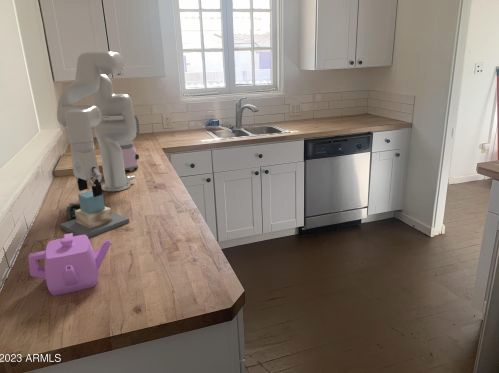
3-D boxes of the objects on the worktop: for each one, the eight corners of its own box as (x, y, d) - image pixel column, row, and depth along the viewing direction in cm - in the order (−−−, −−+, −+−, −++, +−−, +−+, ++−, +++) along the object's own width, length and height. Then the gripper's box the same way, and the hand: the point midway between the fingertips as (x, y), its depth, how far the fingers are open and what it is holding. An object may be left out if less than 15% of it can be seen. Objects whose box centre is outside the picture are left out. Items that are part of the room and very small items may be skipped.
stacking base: (105, 212, 155) (103, 198, 153) (129, 222, 145) (127, 207, 143) (60, 227, 142) (57, 212, 140) (83, 239, 132) (80, 223, 130)
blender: (111, 172, 208) (102, 111, 197) (118, 166, 219) (110, 108, 209) (140, 172, 207) (133, 111, 197) (147, 165, 219) (140, 107, 209)
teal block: (96, 205, 145) (93, 190, 144) (105, 208, 142) (102, 193, 140) (80, 210, 141) (78, 194, 139) (89, 214, 137) (86, 198, 136)
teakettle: (73, 260, 119) (65, 222, 115) (119, 269, 113) (113, 230, 109) (24, 291, 104) (14, 249, 100) (75, 303, 98) (66, 259, 94)
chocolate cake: (93, 210, 158) (66, 196, 151) (101, 209, 154) (74, 194, 146) (82, 232, 154) (54, 218, 147) (90, 232, 150) (61, 217, 142)
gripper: (59, 144, 137) (68, 190, 143) (85, 152, 126) (93, 201, 132) (80, 140, 142) (87, 184, 148) (106, 147, 132) (113, 194, 138)
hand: (90, 192), depth 140 cm, fingers open, 9 cm apart
